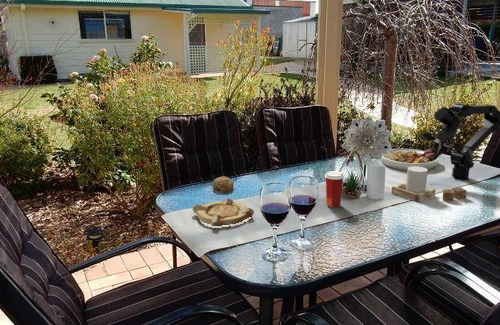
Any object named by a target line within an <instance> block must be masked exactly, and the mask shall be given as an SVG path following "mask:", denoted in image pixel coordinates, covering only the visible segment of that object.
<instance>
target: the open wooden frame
mask: <svg viewBox="0 0 500 325" xmlns="http://www.w3.org/2000/svg"><path fill="white" fill-rule="evenodd" d="M391 194H393V195H396V196H399V197H402V198H405V199H408V200H411V201H414V202H417V203H418V202H421V201H424V200H427V199H429V198H430V199H431V198H433V197H435V196H436V188H430V189H426V191H425V192H422V193H419V194H416V193H413V192H410V191H407V190H406V182H403V183H400V184H396V185H394V186H391Z"/></svg>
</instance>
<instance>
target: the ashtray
mask: <svg viewBox="0 0 500 325" xmlns="http://www.w3.org/2000/svg"><path fill="white" fill-rule="evenodd" d="M192 211H193V214H194V213H196V215H197V217H196V218H197V219H200V220H201V221H202V222H204V223H207V224H211V225H212V226H222V225H230V224H236V223H239V222H242V221H243V220H245V219H247V218H249V217H252V218H253V215H254V214H255V210H254V209H252V208H250V207H248V206H246V205H245V204H242V203H240V202H235V201H233V199H232V198H229V197H227V198H226V200H225V201H223V200H219V201H218V200H217V201H212V202H208V203H206V204H204V205H202V204H198V203H197V204H195V205H194V206H192ZM200 220H199V221H200Z"/></svg>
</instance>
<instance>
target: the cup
mask: <svg viewBox="0 0 500 325" xmlns="http://www.w3.org/2000/svg"><path fill="white" fill-rule="evenodd" d="M428 171H429V169H426V168H424V167H418V166H412V167H408V170H406V172H407V173H406V181H405V183H406V190H407V191H410V192H413V193H416V194H419V193H422V192H425V191H427V189H426V188H427V181H428V180H427V179H428Z"/></svg>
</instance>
